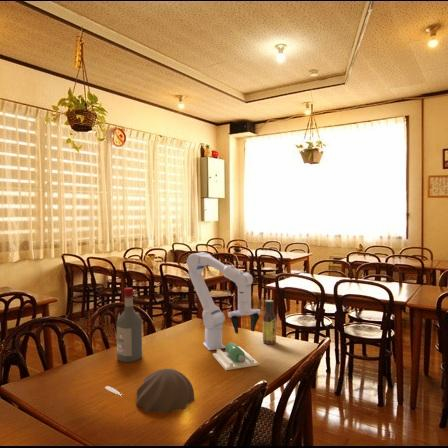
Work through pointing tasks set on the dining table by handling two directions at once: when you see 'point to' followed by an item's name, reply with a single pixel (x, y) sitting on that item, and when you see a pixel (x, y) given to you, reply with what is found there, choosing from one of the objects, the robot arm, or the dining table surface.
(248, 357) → the bottle cradle
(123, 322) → the liquor
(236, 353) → the green bottle
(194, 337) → the dining table surface
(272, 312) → the sauce bottle
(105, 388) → the butter knife
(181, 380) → the decorative dome
